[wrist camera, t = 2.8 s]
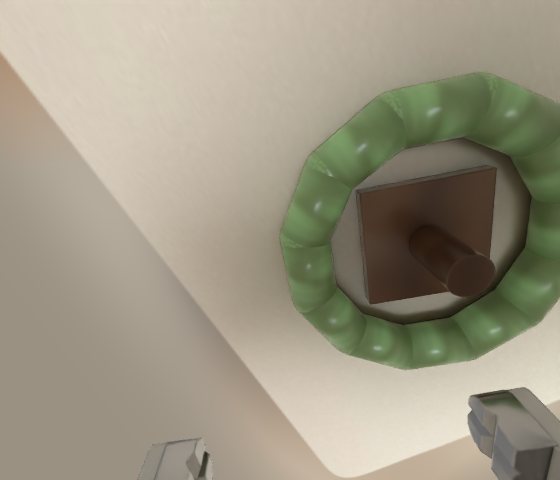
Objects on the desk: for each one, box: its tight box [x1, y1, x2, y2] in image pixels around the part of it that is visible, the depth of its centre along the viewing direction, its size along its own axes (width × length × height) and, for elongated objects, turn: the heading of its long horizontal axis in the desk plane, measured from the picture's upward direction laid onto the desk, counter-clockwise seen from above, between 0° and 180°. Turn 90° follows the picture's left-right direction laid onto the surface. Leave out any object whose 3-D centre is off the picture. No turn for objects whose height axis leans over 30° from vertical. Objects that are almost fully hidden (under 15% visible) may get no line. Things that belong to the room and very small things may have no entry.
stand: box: [356, 166, 497, 304], centre depth 17 cm, size 8×8×6 cm
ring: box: [280, 72, 560, 370], centre depth 18 cm, size 18×18×3 cm
